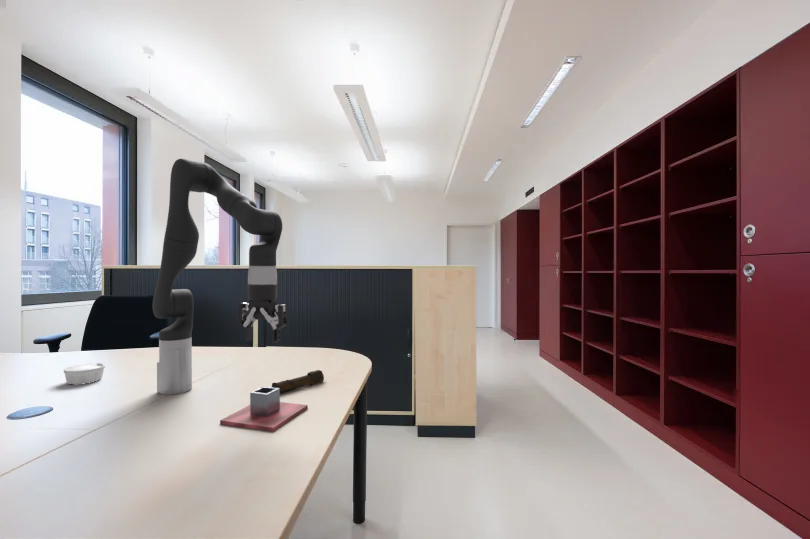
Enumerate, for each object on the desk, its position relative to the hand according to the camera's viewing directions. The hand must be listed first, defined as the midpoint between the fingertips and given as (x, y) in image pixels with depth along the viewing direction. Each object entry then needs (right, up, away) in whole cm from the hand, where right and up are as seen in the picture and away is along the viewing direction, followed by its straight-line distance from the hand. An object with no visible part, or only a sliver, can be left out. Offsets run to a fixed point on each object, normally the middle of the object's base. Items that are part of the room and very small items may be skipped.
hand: (262, 341), depth 106 cm
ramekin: (-75, -20, +31) cm, 83 cm away
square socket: (+1, -19, -1) cm, 19 cm away
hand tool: (+4, -20, +24) cm, 32 cm away
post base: (+1, -20, -1) cm, 20 cm away
